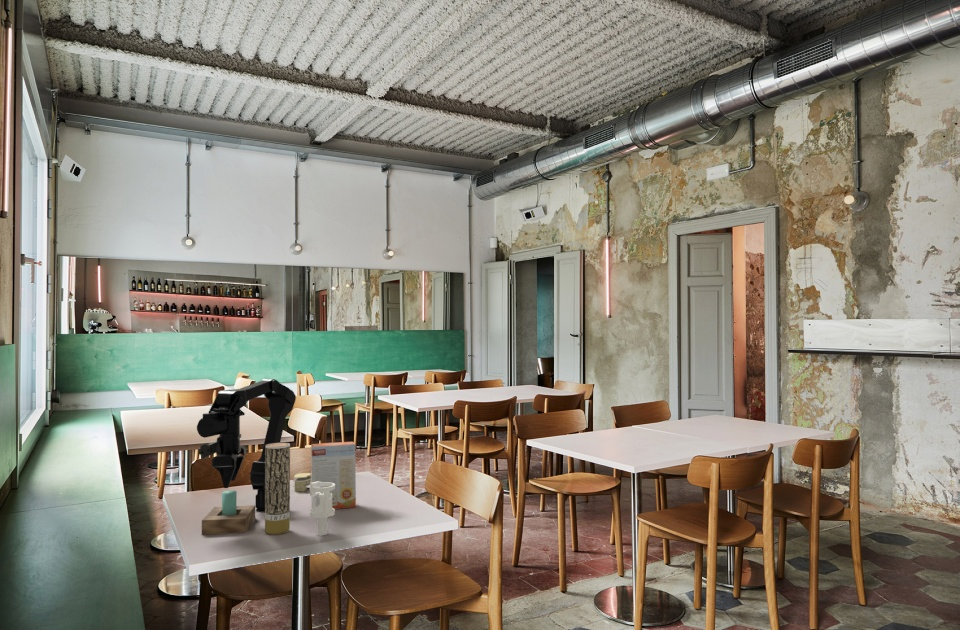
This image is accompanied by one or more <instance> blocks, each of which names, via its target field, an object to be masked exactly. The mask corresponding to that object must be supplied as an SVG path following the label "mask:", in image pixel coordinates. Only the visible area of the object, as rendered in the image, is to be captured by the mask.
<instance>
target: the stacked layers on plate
mask: <svg viewBox="0 0 960 630" xmlns="http://www.w3.org/2000/svg"><path fill="white" fill-rule="evenodd" d="M293 478H294V480H293V482H294V484H293V486H292V487H293V488H294V492H305V491H306V490H307V487H309V486H310V483H311V472H305V473H303V472H302V473H301V472H300V473H296V474H295V475H294V476H293Z"/></svg>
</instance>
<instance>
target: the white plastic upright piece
mask: <svg viewBox="0 0 960 630" xmlns="http://www.w3.org/2000/svg"><path fill="white" fill-rule="evenodd" d="M322 486H328V487H324V488H320V487H322ZM334 489H335V484H334V483H330V482H320V481H316V482H312V483H310V485H309V496H312V500H311V509H309V517H310V518H313V519H315V518H316V536H326V535H328V534H329V531H328V530H329V528H328V527H329V524H328V523H329V520H328V519H329V518H330V517H332V516H335V515H336V509H334V508H332V493H329V491H331V490H334Z"/></svg>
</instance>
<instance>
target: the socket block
mask: <svg viewBox="0 0 960 630" xmlns="http://www.w3.org/2000/svg"><path fill="white" fill-rule="evenodd" d="M255 519H256V504H255V505H253V504H252V505H236V515H224V516H222V506H214V507H213V508H211V510H210V511H209V512H208V513H207V514H206V515H205V516H204V518H202V519H201V535H215V534H216V535H217V534H218V535H219V534H220V535H221V534H240V533H247V531H248V529H249V528H250V526H251V525H252V524H253V522H254V521H255Z"/></svg>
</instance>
